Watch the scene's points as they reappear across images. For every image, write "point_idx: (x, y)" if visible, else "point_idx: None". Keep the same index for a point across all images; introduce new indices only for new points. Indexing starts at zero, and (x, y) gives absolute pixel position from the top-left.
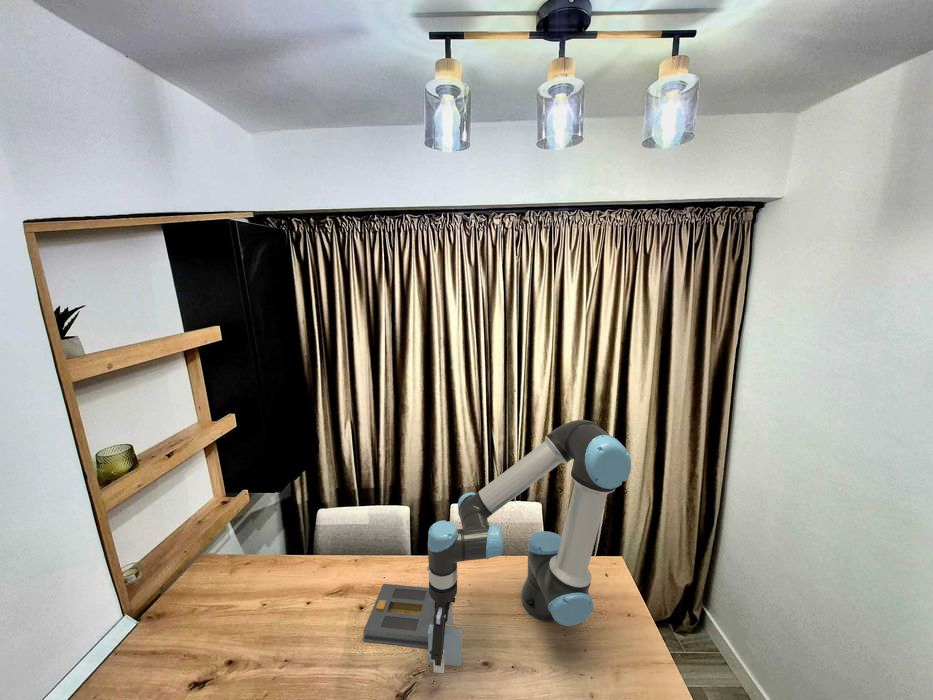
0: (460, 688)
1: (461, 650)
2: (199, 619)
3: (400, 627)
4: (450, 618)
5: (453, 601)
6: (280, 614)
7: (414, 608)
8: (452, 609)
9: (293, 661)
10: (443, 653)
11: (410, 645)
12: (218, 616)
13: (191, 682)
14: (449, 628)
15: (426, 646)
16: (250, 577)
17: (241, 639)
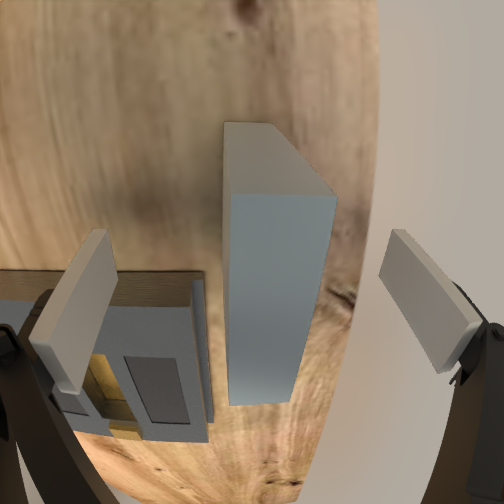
0: (364, 122)
1: (259, 137)
2: (219, 501)
3: (174, 392)
4: (96, 267)
5: (11, 337)
6: (191, 480)
7: None
8: (58, 304)
9: (267, 458)
10: (479, 316)
11: (206, 337)
12: (212, 497)
13: (292, 485)
14: (252, 306)
15: (203, 292)
16: (150, 495)
17: (238, 486)
